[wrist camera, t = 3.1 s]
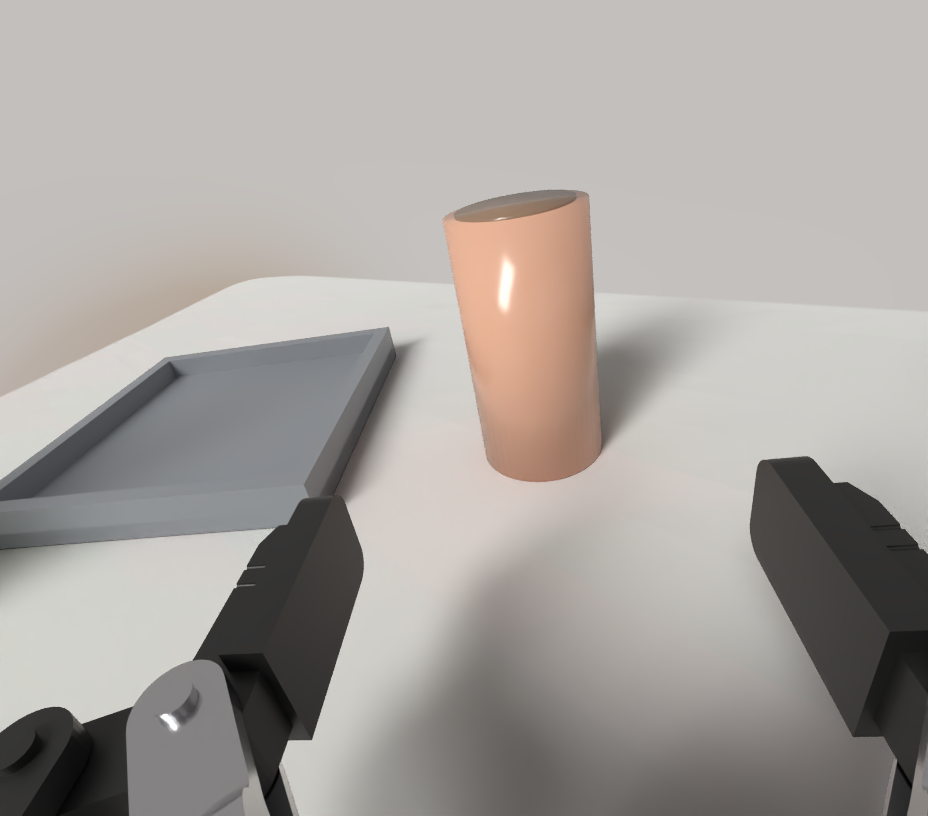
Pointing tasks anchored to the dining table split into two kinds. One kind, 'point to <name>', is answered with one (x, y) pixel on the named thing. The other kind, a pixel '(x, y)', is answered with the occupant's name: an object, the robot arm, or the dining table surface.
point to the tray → (203, 444)
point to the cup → (530, 329)
